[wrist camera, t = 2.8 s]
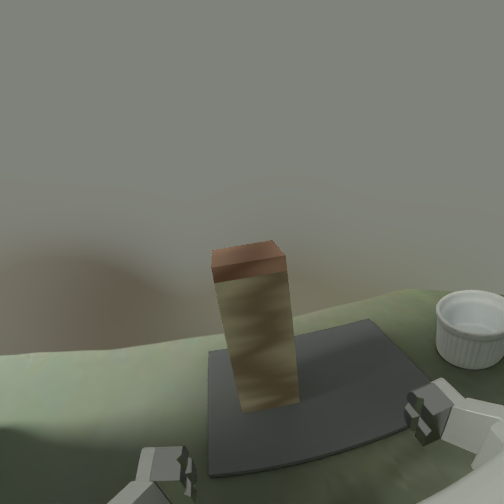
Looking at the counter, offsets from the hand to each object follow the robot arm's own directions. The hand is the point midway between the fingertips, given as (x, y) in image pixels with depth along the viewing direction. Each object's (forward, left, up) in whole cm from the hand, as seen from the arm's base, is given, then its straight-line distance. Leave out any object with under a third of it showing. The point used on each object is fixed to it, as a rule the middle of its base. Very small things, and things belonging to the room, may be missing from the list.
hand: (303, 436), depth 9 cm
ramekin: (+20, +11, -9) cm, 24 cm away
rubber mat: (+4, +13, -9) cm, 16 cm away
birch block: (0, +13, -9) cm, 16 cm away
